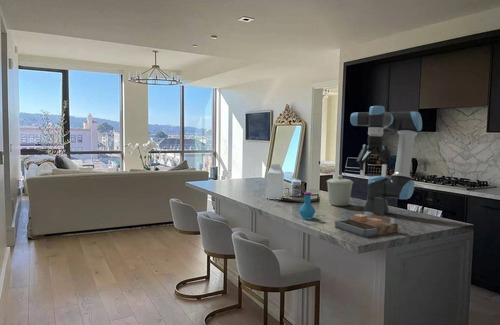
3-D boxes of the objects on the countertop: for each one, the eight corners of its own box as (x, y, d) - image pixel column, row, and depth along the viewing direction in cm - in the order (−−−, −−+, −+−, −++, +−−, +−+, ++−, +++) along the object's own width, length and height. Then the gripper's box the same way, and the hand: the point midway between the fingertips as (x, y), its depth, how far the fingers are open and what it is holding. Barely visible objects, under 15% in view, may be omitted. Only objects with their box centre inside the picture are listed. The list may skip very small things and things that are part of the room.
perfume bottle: (313, 216, 226) (314, 191, 224) (316, 219, 216) (317, 193, 215) (297, 216, 225) (298, 191, 224) (300, 219, 216) (301, 193, 215)
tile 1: (360, 218, 204) (360, 214, 203) (367, 220, 199) (367, 215, 199) (353, 219, 201) (353, 214, 201) (360, 221, 197) (360, 216, 197)
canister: (346, 208, 250) (347, 177, 248) (321, 205, 261) (322, 174, 259) (356, 204, 264) (357, 174, 263) (332, 201, 275) (333, 172, 274)
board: (368, 223, 210) (368, 216, 210) (397, 231, 193) (398, 224, 192) (347, 226, 203) (347, 218, 203) (376, 235, 185) (376, 227, 185)
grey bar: (367, 216, 208) (368, 195, 207) (394, 224, 192) (395, 200, 192) (363, 217, 207) (364, 195, 206) (390, 224, 191) (391, 201, 190)
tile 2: (374, 222, 195) (374, 217, 195) (382, 224, 190) (382, 219, 190) (367, 223, 192) (367, 218, 192) (375, 225, 188) (375, 220, 188)
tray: (346, 226, 203) (346, 219, 203) (376, 235, 185) (377, 228, 185) (335, 227, 199) (335, 221, 199) (364, 237, 181) (365, 230, 181)
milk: (265, 199, 281) (265, 164, 279) (269, 196, 292) (269, 163, 290) (281, 200, 277) (281, 164, 275) (284, 197, 288) (285, 163, 286)
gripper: (359, 134, 190) (357, 177, 191) (399, 137, 198) (397, 177, 199) (350, 134, 197) (348, 175, 198) (389, 137, 205) (387, 176, 206)
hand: (373, 176), depth 198 cm, fingers open, 13 cm apart
